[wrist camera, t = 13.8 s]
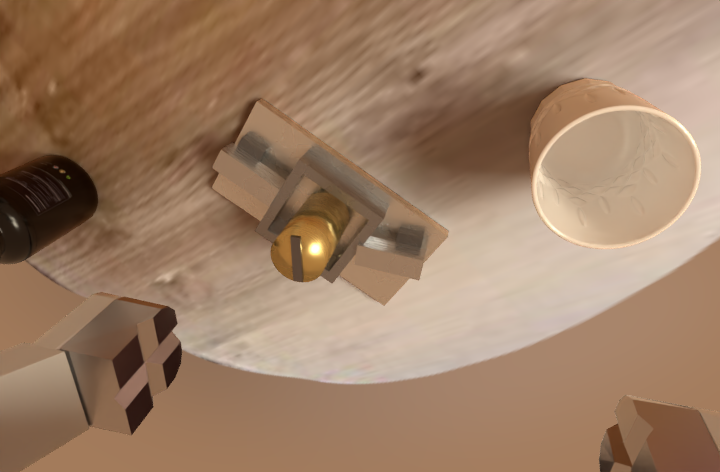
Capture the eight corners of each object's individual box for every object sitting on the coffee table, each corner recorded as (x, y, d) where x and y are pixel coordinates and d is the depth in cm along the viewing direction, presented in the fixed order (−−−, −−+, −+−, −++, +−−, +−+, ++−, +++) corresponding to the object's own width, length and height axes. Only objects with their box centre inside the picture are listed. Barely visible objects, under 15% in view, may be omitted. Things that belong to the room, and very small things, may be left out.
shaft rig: (217, 183, 42) (194, 201, 39) (261, 98, 38) (240, 110, 35) (386, 299, 44) (378, 325, 41) (448, 230, 40) (445, 254, 36)
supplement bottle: (87, 232, 49) (-20, 304, 38) (27, 188, 48) (-99, 249, 37) (112, 186, 45) (1, 250, 35) (48, 137, 44) (-85, 189, 34)
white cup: (565, 202, 36) (590, 274, 28) (497, 124, 35) (500, 175, 26) (669, 132, 33) (735, 190, 24) (598, 41, 31) (640, 70, 23)
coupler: (301, 190, 40) (267, 231, 34) (349, 195, 39) (323, 238, 33) (303, 233, 42) (271, 280, 35) (349, 239, 41) (324, 287, 35)
